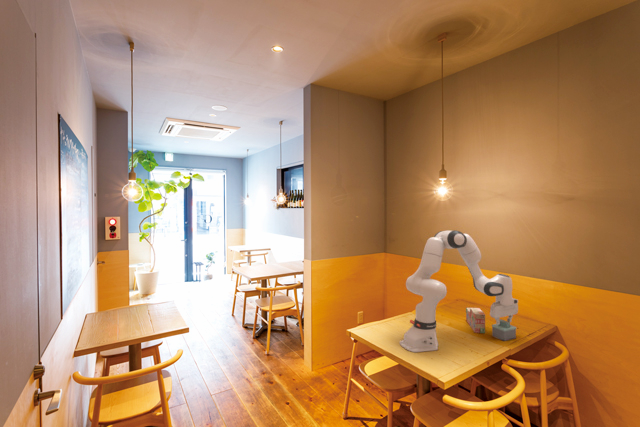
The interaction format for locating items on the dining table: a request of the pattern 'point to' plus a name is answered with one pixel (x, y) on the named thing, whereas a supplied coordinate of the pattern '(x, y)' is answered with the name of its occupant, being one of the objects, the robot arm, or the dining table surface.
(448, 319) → the dining table surface
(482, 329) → the stack of blocks
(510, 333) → the storage box
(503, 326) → the lid
